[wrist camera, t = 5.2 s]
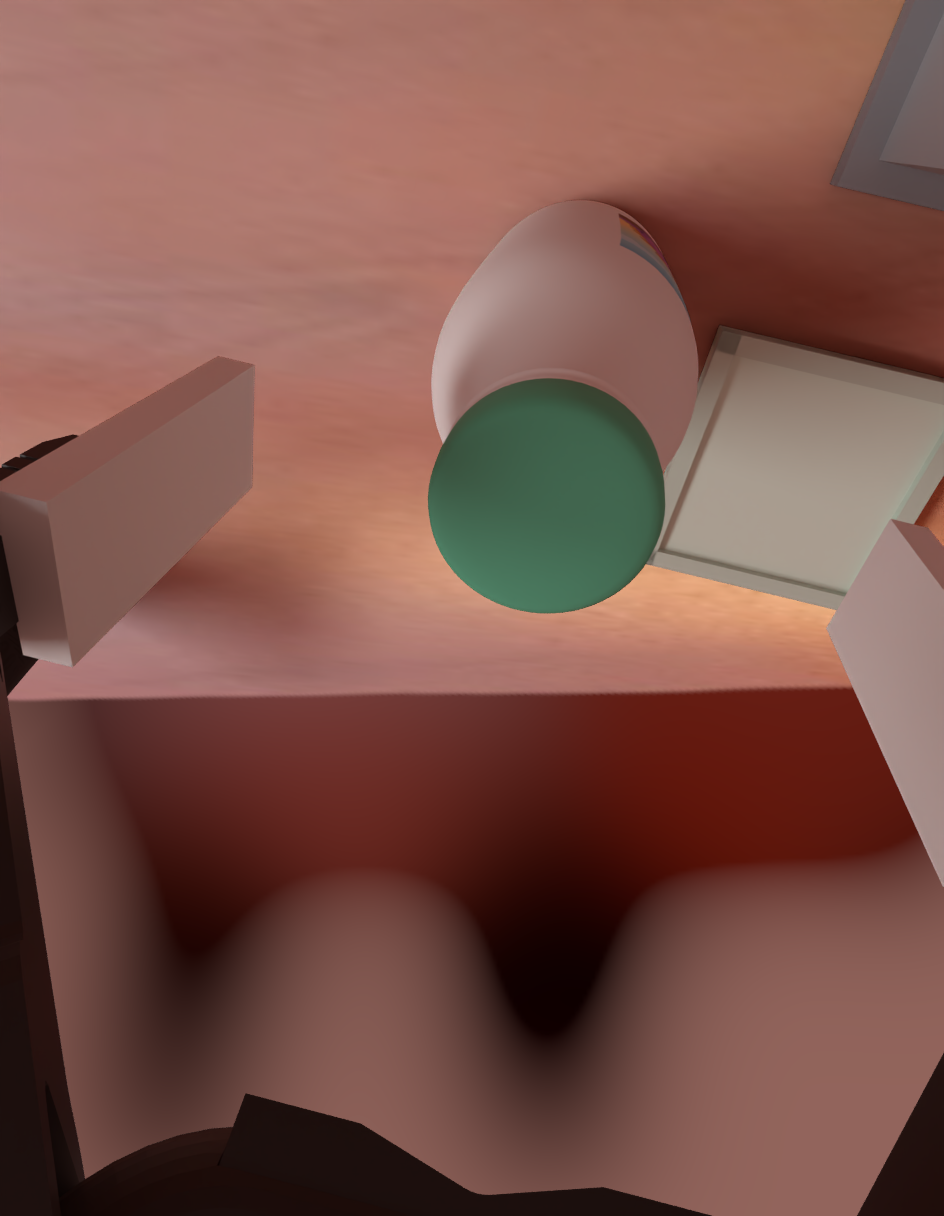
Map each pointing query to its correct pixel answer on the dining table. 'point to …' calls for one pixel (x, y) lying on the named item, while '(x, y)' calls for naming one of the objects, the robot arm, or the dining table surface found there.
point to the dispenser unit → (903, 115)
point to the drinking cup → (13, 658)
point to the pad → (797, 466)
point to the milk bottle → (560, 409)
